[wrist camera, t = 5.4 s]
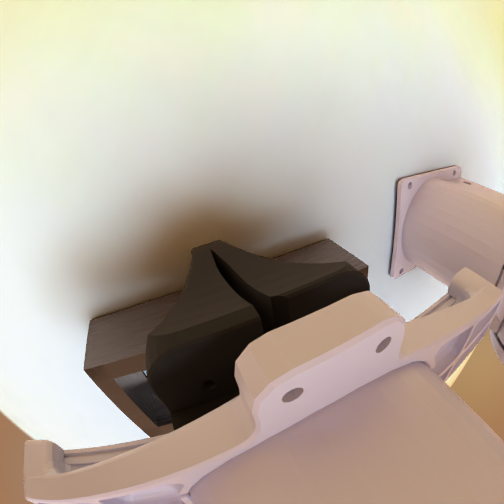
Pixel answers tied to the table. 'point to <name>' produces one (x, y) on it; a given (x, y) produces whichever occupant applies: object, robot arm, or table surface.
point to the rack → (135, 338)
